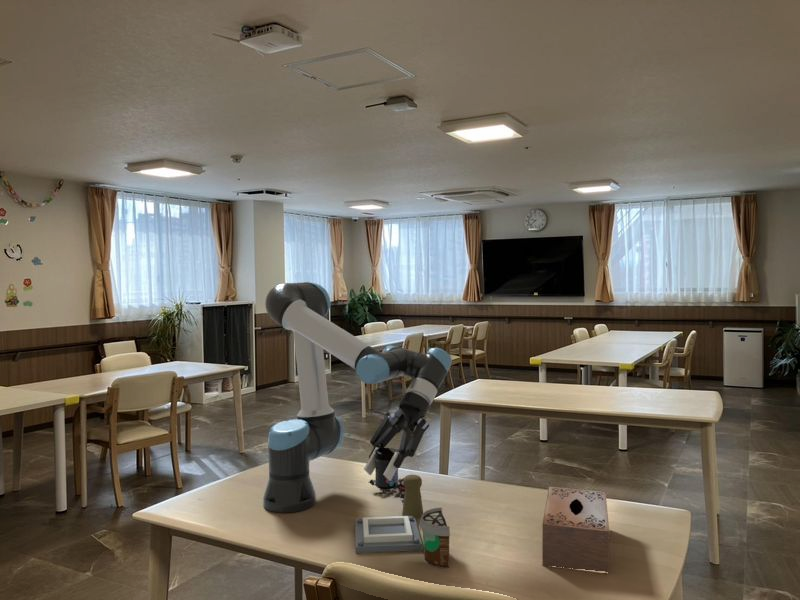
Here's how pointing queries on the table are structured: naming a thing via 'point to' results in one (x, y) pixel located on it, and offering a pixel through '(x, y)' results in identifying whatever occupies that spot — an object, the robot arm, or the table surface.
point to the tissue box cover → (576, 529)
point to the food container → (435, 538)
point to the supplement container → (384, 468)
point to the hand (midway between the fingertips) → (377, 474)
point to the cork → (412, 497)
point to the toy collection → (394, 488)
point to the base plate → (387, 534)
